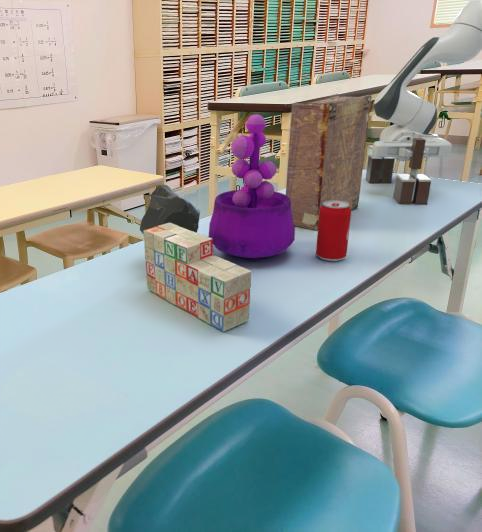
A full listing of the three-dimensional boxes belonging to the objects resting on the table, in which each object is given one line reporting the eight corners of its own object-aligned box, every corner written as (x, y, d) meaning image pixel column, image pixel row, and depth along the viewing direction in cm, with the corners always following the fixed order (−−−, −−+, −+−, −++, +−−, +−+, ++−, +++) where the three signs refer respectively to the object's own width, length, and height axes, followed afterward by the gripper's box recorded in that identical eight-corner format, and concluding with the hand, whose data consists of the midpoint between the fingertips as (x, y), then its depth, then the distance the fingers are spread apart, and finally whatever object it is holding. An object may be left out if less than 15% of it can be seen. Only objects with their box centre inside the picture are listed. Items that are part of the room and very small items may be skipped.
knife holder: (369, 183, 169) (372, 158, 166) (365, 178, 174) (368, 155, 171) (391, 183, 167) (395, 158, 164) (386, 179, 173) (390, 154, 170)
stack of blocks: (250, 320, 87) (253, 253, 82) (223, 333, 84) (223, 264, 79) (171, 279, 104) (169, 221, 99) (146, 288, 100) (142, 229, 95)
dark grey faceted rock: (213, 259, 114) (214, 178, 107) (188, 286, 101) (187, 197, 94) (154, 251, 120) (151, 174, 113) (123, 276, 107) (118, 191, 100)
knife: (407, 201, 146) (417, 140, 140) (402, 197, 151) (412, 137, 144) (416, 201, 146) (427, 140, 139) (411, 197, 150) (421, 137, 144)
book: (326, 202, 151) (337, 93, 139) (358, 207, 145) (372, 94, 133) (283, 224, 134) (291, 103, 122) (317, 231, 128) (329, 104, 116)
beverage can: (348, 254, 113) (354, 201, 108) (342, 264, 108) (349, 209, 103) (318, 250, 116) (324, 198, 111) (312, 260, 111) (317, 205, 106)
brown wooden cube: (393, 197, 152) (396, 173, 150) (419, 197, 151) (423, 173, 148) (399, 204, 146) (403, 179, 143) (427, 204, 145) (431, 179, 142)
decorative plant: (258, 275, 105) (267, 122, 93) (191, 253, 118) (190, 116, 106) (309, 250, 116) (322, 111, 105) (242, 233, 129) (247, 107, 117)
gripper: (368, 135, 156) (379, 143, 143) (443, 134, 152) (460, 142, 139) (365, 156, 158) (376, 165, 146) (439, 155, 154) (456, 165, 142)
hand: (418, 154), depth 143 cm, fingers closed on knife, 2 cm apart
